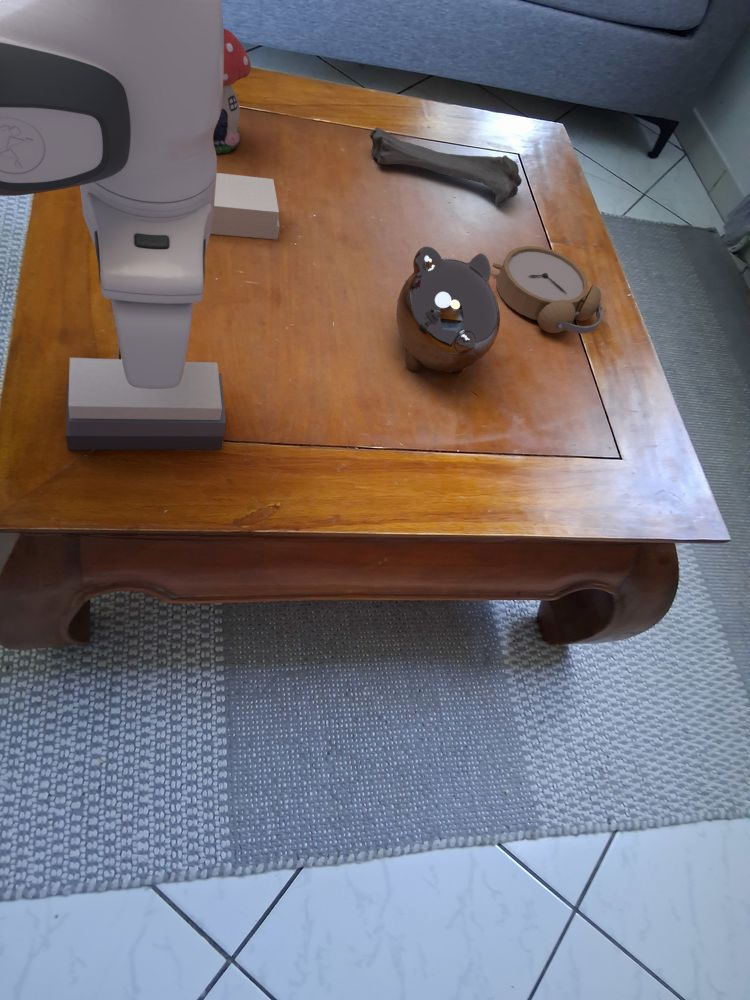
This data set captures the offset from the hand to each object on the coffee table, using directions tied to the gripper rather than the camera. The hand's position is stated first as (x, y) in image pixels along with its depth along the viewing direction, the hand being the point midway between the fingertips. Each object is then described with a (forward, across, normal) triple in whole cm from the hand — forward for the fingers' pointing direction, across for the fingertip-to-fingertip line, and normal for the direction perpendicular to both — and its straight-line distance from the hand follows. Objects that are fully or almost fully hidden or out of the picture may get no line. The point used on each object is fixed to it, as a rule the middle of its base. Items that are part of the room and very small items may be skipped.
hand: (150, 336), depth 64 cm
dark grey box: (+12, 0, 0) cm, 12 cm away
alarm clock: (+13, -20, +50) cm, 55 cm away
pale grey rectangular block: (+8, 0, 0) cm, 8 cm away
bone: (+13, -43, +41) cm, 60 cm away
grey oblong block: (+12, -31, +9) cm, 34 cm away
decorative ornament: (+13, -46, +9) cm, 48 cm away
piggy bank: (+13, -11, +32) cm, 36 cm away
